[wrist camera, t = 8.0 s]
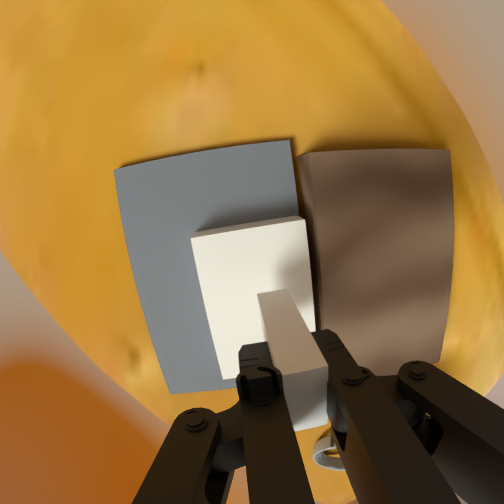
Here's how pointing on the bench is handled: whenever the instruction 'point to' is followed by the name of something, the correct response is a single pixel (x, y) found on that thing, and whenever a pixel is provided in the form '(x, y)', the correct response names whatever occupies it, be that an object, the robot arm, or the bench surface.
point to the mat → (180, 247)
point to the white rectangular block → (250, 279)
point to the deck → (381, 251)
